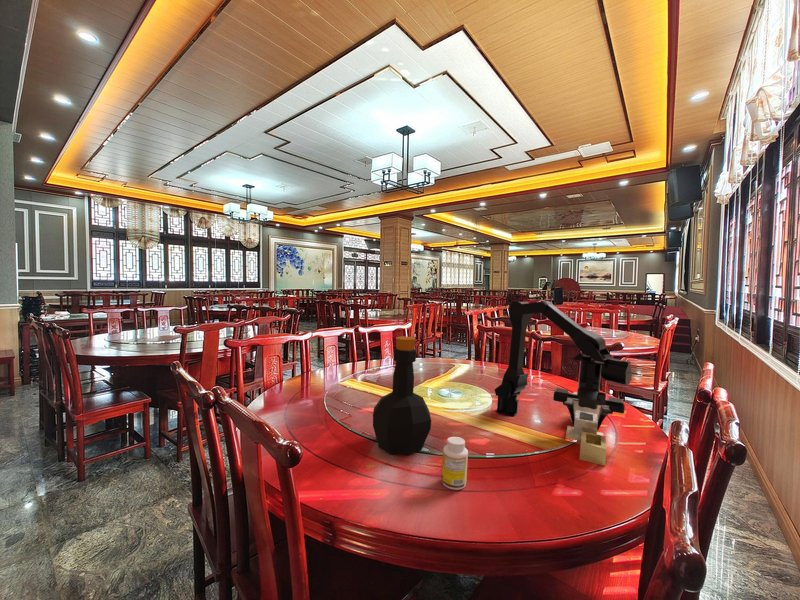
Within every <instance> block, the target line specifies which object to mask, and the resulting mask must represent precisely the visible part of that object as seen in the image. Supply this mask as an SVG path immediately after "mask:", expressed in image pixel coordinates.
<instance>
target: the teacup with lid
mask: <svg viewBox="0 0 800 600" xmlns="http://www.w3.org/2000/svg"><path fill="white" fill-rule="evenodd" d="M571 394H576V395H577V391H576V392H575V391H574V392H572V393H571ZM600 407H601V406H600V405H597V409H591V408H587V407H580V406H579V405H578V401H574V412H576V410H579V411H584V412H589V413H594V414H597V420H598V416H599V412H600ZM570 419H571V416H570V417H569V420H570Z"/></svg>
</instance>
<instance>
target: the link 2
mask: <svg viewBox="0 0 800 600" xmlns="http://www.w3.org/2000/svg"><path fill="white" fill-rule="evenodd" d="M579 445H580V447H579V460H581V461H584V462H588V463H592V464H597V465H601V466H606V460H607V449H608V448H607V439H606V435H603V436H601V435H597V434H592V433H587V432H583V431H582V432H581V444H579Z"/></svg>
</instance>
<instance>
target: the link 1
mask: <svg viewBox="0 0 800 600" xmlns="http://www.w3.org/2000/svg"><path fill="white" fill-rule="evenodd" d="M597 426H598V420H597V414H594V413H589V412H584V411H579V410H576V412H575V421H574V426H573V427H574V433H573V434H576V435H581V432H582V431H583V432H587V433H592V434H597V432H598V431H597Z"/></svg>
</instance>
